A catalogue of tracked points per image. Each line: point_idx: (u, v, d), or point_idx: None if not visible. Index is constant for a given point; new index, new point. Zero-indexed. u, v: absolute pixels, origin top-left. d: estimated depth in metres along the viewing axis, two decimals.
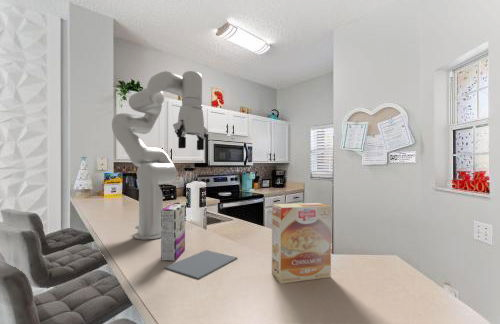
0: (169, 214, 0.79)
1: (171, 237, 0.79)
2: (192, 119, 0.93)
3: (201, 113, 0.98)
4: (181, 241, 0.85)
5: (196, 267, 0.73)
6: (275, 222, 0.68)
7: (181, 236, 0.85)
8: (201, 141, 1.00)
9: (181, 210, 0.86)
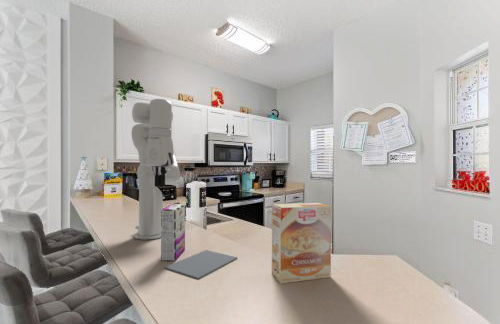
0: (169, 214, 0.79)
1: (171, 237, 0.79)
2: None
3: None
4: (181, 241, 0.85)
5: (196, 267, 0.73)
6: (275, 222, 0.68)
7: (181, 236, 0.85)
8: None
9: (181, 210, 0.86)
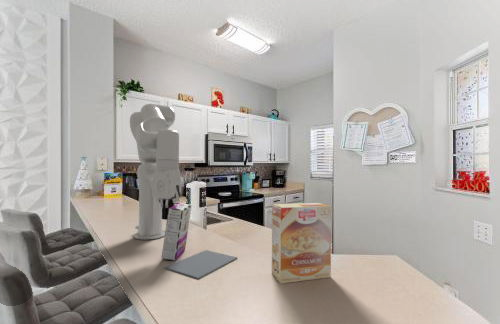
0: (176, 214, 0.79)
1: (175, 236, 0.79)
2: None
3: None
4: (183, 241, 0.85)
5: (196, 267, 0.73)
6: (275, 222, 0.68)
7: (184, 236, 0.85)
8: None
9: (188, 211, 0.86)
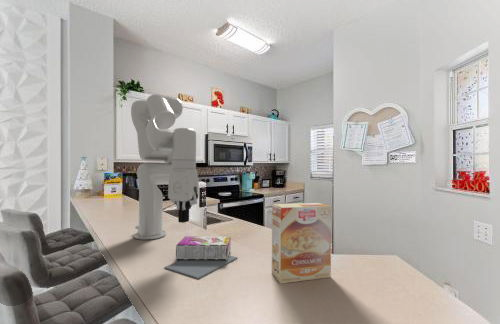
0: (222, 254, 0.78)
1: (199, 256, 0.78)
2: None
3: None
4: None
5: (196, 267, 0.73)
6: (275, 222, 0.68)
7: None
8: None
9: None
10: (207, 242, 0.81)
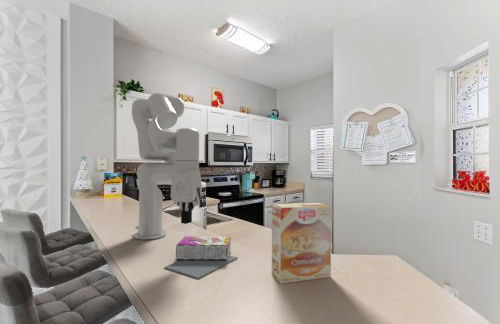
0: (222, 254, 0.78)
1: (199, 256, 0.78)
2: None
3: None
4: None
5: (196, 267, 0.73)
6: (275, 222, 0.68)
7: None
8: None
9: None
10: (207, 242, 0.81)
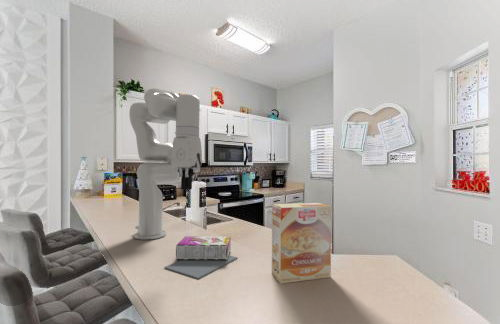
0: (222, 254, 0.78)
1: (199, 256, 0.78)
2: None
3: None
4: None
5: (196, 267, 0.73)
6: (275, 222, 0.68)
7: None
8: None
9: None
10: (207, 242, 0.81)
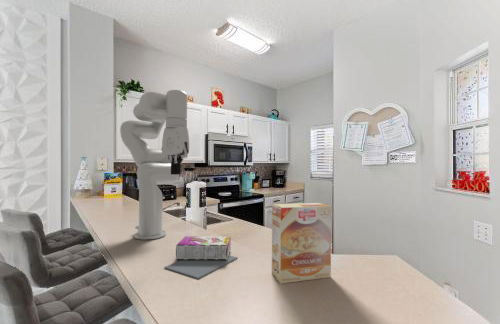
0: (222, 254, 0.78)
1: (199, 256, 0.78)
2: None
3: None
4: None
5: (196, 267, 0.73)
6: (275, 222, 0.68)
7: None
8: None
9: None
10: (207, 242, 0.81)
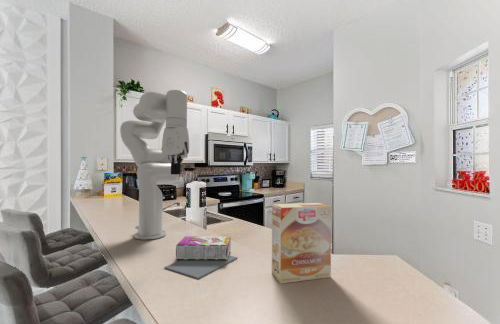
0: (222, 254, 0.78)
1: (199, 256, 0.78)
2: None
3: None
4: None
5: (196, 267, 0.73)
6: (275, 222, 0.68)
7: None
8: None
9: None
10: (207, 242, 0.81)
